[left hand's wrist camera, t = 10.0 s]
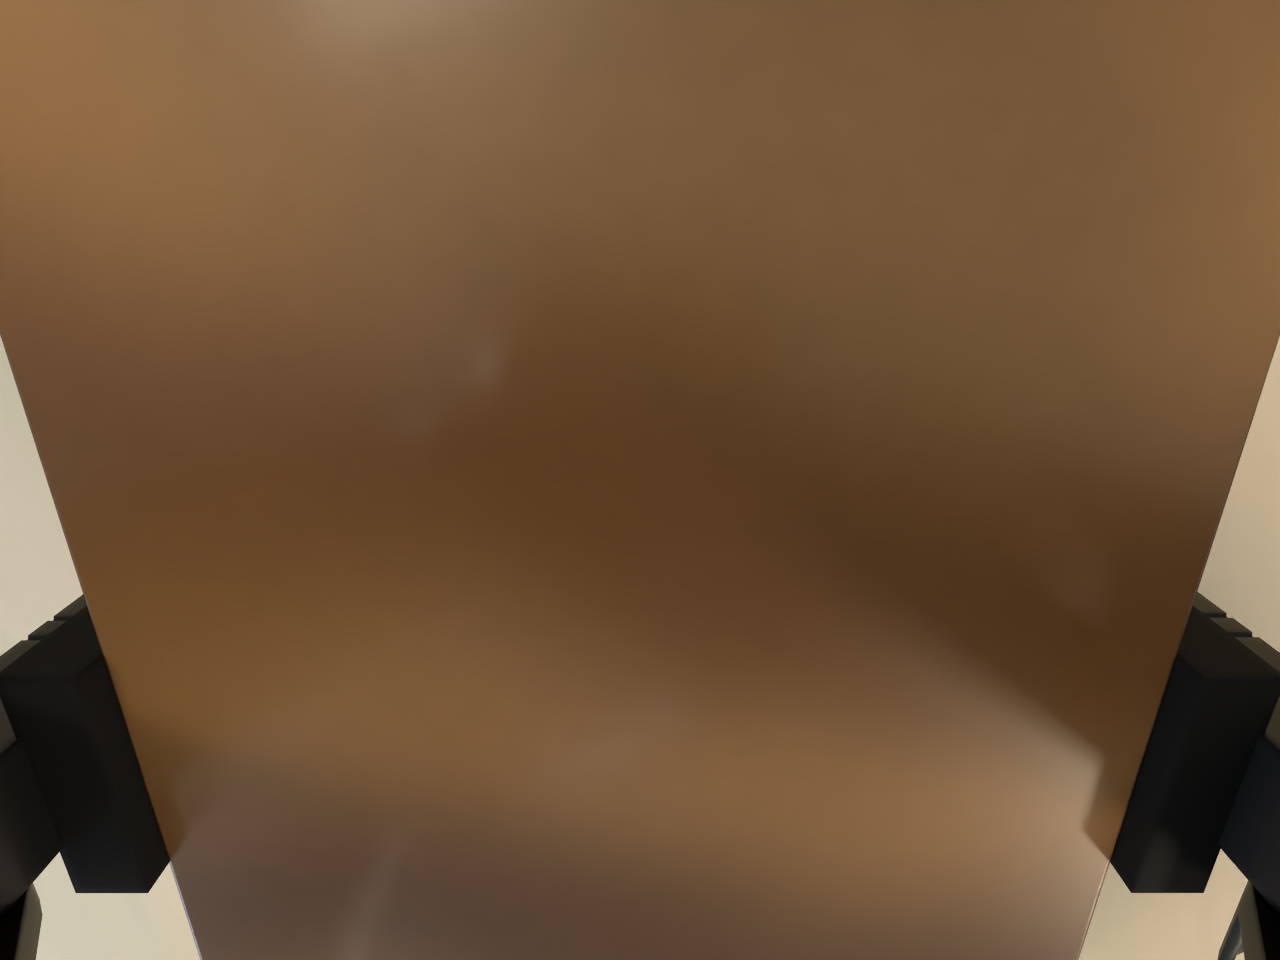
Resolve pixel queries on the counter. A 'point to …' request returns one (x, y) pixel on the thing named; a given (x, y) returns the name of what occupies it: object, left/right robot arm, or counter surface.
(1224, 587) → the counter surface
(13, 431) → the counter surface
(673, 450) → the thick board
